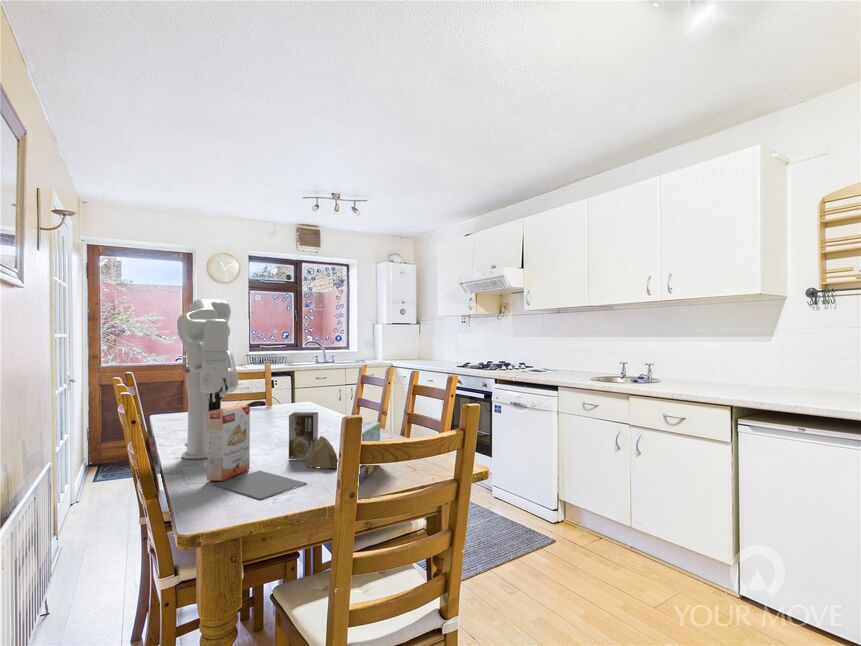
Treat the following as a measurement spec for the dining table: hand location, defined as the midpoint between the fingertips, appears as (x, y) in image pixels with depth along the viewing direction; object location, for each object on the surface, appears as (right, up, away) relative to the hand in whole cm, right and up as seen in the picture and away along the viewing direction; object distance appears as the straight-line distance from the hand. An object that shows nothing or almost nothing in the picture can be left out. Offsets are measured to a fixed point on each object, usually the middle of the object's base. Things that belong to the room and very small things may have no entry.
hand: (214, 413), depth 148 cm
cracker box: (+7, -19, -5) cm, 20 cm away
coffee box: (+24, -19, +16) cm, 35 cm away
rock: (+34, -19, +5) cm, 39 cm away
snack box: (+48, -19, -2) cm, 52 cm away
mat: (+20, -18, -13) cm, 30 cm away
